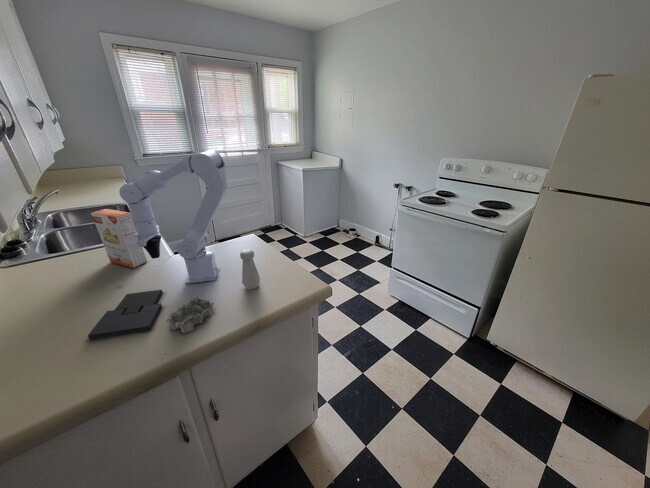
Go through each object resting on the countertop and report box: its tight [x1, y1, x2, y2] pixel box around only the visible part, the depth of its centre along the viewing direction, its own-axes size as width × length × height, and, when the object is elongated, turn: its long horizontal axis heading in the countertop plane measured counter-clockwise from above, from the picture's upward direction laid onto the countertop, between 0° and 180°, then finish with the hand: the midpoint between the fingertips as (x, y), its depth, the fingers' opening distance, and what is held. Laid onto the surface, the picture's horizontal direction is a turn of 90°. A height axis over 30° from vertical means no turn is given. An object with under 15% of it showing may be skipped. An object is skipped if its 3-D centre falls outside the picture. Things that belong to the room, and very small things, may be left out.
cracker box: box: [90, 208, 148, 269], centre depth 102 cm, size 14×6×21 cm, turn 67°
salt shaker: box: [239, 248, 261, 291], centre depth 87 cm, size 6×6×13 cm
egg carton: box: [166, 295, 215, 334], centre depth 74 cm, size 11×8×4 cm
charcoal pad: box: [87, 303, 163, 341], centre depth 74 cm, size 14×10×2 cm
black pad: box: [114, 289, 163, 315], centre depth 81 cm, size 10×11×2 cm
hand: (156, 257), depth 92 cm, fingers closed
